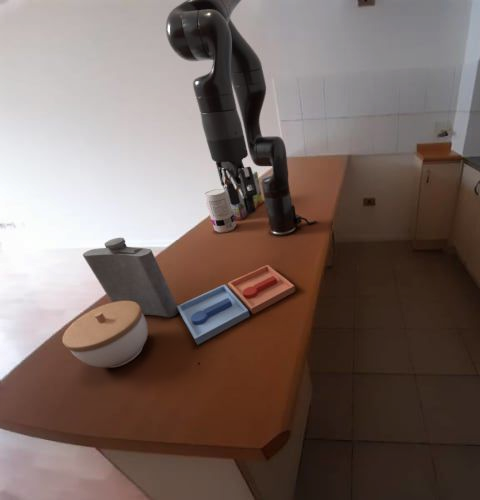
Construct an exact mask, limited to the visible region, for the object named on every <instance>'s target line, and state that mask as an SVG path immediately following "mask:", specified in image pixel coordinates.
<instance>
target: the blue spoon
mask: <svg viewBox="0 0 480 500" xmlns="http://www.w3.org/2000/svg"><path fill="white" fill-rule="evenodd" d="M231 306H232V303H231V301H230V300H229V298H226V299H224V300H222V301H220V302H218V303H216V304H214V305H212V306H210V307H208V308H206V309H204V311H203V310H202V311H198V312H196V313H194V314H193V315H192V316H191V320H192V323H193V324H194V325H200V324H203V323H205V322H206V321H207V320H208V318H210V317H212V316H214V315H215V314H217V313H219V312H221V311H223V310H225V309H227V308H229V307H231Z"/></svg>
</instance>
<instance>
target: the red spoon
mask: <svg viewBox="0 0 480 500" xmlns="http://www.w3.org/2000/svg"><path fill="white" fill-rule="evenodd" d="M275 284H277V279H276V278H275V277H274V276H272V277H270V278H268V279H266V280H264V281H262V282H260V283H257V284H255V285H254V286H251V287H247V288H246V289H244V290H243V295H244V297H245V298H247V299H251V298H254V297H255V296H257V294H258V293H259V292H261V291H263V290H265V289H267V288H269V287H271V286H273V285H275Z"/></svg>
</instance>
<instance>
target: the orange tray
mask: <svg viewBox="0 0 480 500" xmlns="http://www.w3.org/2000/svg"><path fill="white" fill-rule="evenodd" d="M272 276H274V277H275V278H276V279H277V284H275V285H273V286H271V287H269V288H267V289H265V290H263V291H261V292H259V293H258V294H257V296H255V297H254V298H251V299H247V298H245V297H244V295H243V290H244V289H246V288H247V287H251V286H254V285H255V284H257V283H260V282H262V281H264V280H266V279H268V278H270V277H272ZM227 286H228V288H229V290H230V291H231V292H232V293H233V294H234V295H235V296H236V297H237V298H238V300H239V301H240V302H241V303H242V304H243V305H244V306H245V307H246V309H247V310H248V312H249V313H251V314H252V315H255V314H257V313H258V312H261V311H263V310H265V309H266V308H267V307H270V306H271V305H273V304H275V303H277V302H279V301H281V300H282V299H284V298H286V297H288V296H290V295H291V294H293V293H295V292H296V286H295V285H294V284H293V283H292V282H290V281H289V280H288V279H287V278H285V277H284V276H283V275H282V274H280V272H278V271H276V269H274V268H272V267H271V266H270V265H268V264H265V265H264V266H262V267H259V268H258V269H255V270H253V271H251V272H249V273H246V274H244V275H242V276H240V277H238V278H236V279H233V280H231V281H229V282H227Z"/></svg>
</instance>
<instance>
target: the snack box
mask: <svg viewBox="0 0 480 500" xmlns="http://www.w3.org/2000/svg"><path fill="white" fill-rule="evenodd" d="M252 173H253V178H254V182H255V186H256V190H257V195H254V196H253V200H254V204H255V208H256V209H257V208H258V207H259V206H260V205H261V204H262V203H264V201H263V197H262V192H261V190H262V189H261V186H260V180H259V174H258V171H252ZM250 186H251V185H250ZM222 187H223V188H222V189H224V190H225V191H226V193H227V194H228V192H227V190H226V189H225V187H224V186H222ZM251 188H252V187H251ZM247 190H248V189H247ZM237 191H238V190H237ZM238 195H239V199H240V203H239V204H236V205H232V204H231V203H230V204H231V208H232V212H233V215H234V219H235V221H242V220H244V219H245V218H246V217H247V216H248V215H249V214H247V213H246V212H245V208H244V204H243V200H242V196H241V194H240V192H239V191H238ZM228 197H229V196H228ZM229 201H230V200H229Z"/></svg>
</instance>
